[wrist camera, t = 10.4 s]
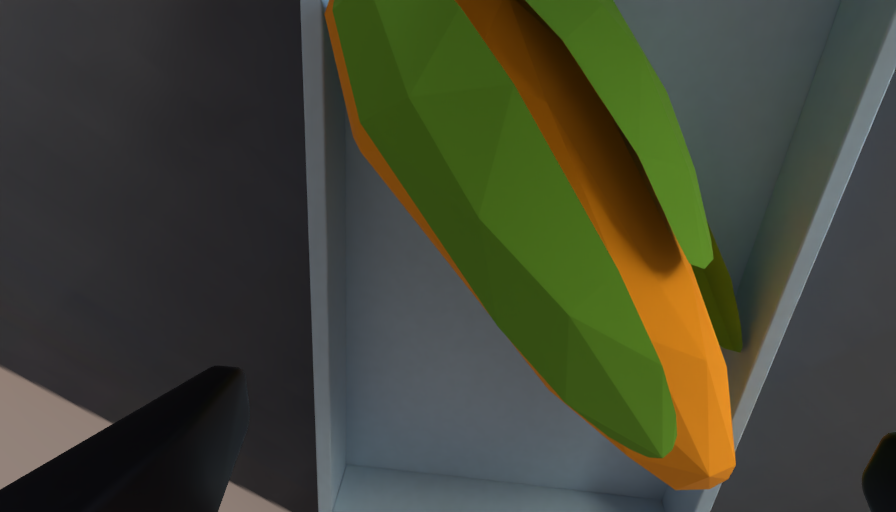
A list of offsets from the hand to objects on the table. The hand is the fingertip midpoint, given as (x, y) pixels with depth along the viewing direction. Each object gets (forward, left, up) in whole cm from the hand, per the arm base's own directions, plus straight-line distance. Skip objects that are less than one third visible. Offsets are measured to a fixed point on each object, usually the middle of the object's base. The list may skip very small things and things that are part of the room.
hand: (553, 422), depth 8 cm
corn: (-2, +1, -12) cm, 12 cm away
